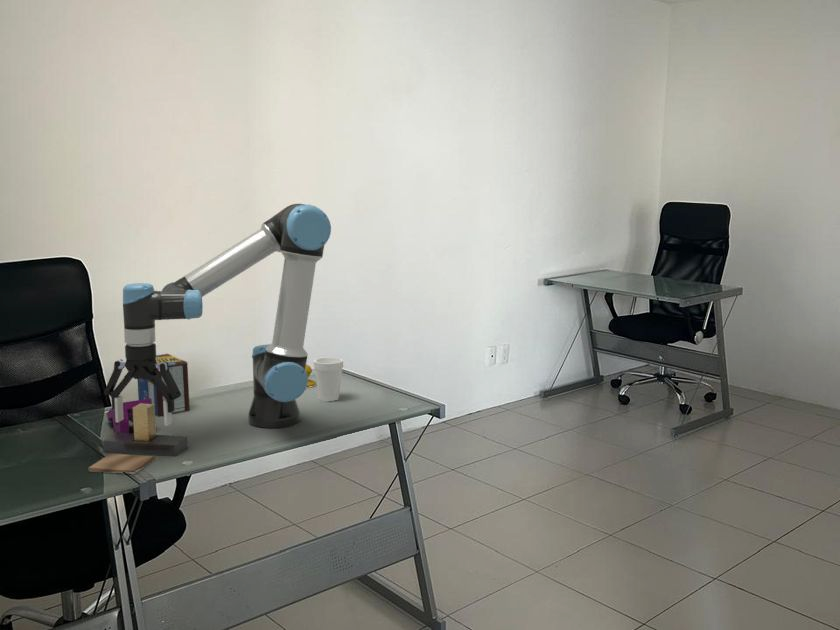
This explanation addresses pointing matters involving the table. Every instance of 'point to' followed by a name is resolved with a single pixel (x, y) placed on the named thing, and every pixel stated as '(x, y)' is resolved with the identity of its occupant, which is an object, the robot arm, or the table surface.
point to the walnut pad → (121, 463)
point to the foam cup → (328, 377)
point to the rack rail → (145, 444)
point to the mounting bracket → (125, 415)
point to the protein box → (180, 377)
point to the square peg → (144, 422)
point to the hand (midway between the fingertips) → (143, 422)
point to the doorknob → (309, 370)
